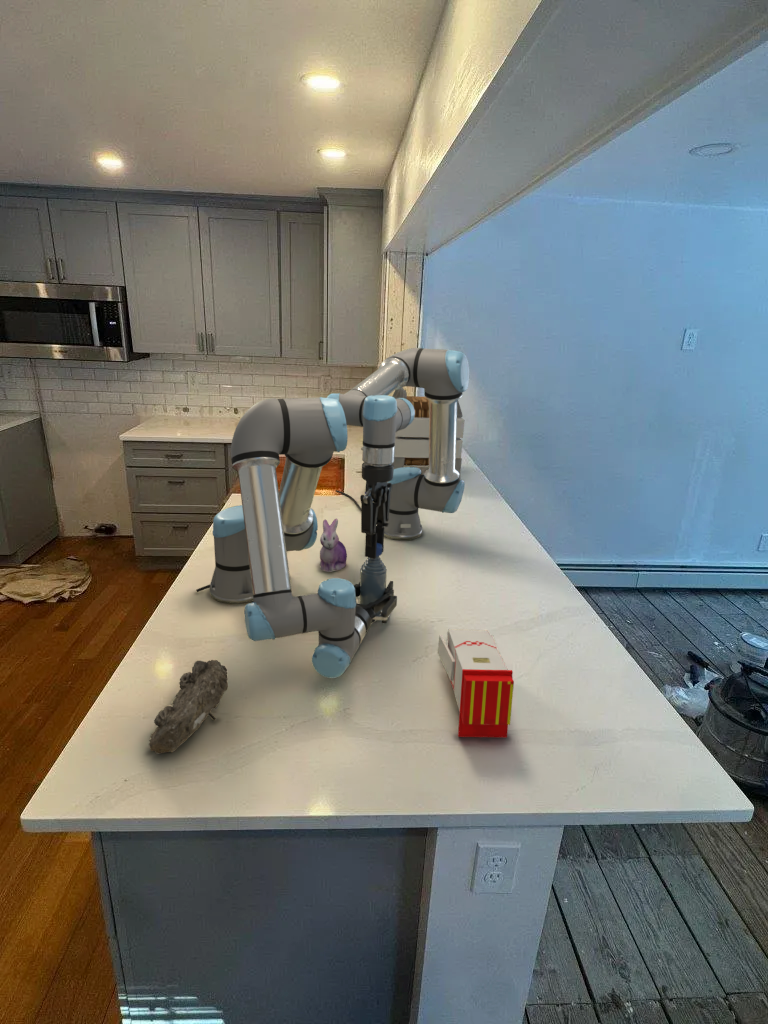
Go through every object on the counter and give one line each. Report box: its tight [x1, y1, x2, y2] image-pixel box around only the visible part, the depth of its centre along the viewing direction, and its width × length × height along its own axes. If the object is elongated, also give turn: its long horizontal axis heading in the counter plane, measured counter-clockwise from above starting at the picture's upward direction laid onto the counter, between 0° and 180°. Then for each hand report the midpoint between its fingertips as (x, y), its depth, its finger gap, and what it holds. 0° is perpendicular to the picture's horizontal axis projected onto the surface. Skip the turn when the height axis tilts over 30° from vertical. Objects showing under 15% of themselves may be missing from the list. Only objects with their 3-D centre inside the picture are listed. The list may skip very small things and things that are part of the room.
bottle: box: [358, 556, 388, 615], centre depth 144 cm, size 7×7×19 cm
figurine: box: [319, 518, 348, 573], centre depth 170 cm, size 9×10×15 cm
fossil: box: [148, 659, 229, 754], centre depth 106 cm, size 22×10×15 cm
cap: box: [376, 543, 383, 557], centre depth 141 cm, size 4×4×2 cm
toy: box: [437, 628, 515, 738], centre depth 117 cm, size 12×13×30 cm
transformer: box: [391, 387, 465, 480], centre depth 268 cm, size 34×33×41 cm
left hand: (377, 583), depth 149 cm, fingers closed on bottle, 7 cm apart
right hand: (374, 553), depth 141 cm, fingers closed on cap, 4 cm apart
